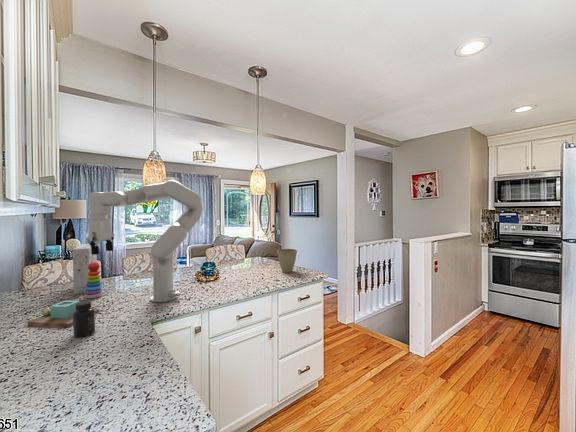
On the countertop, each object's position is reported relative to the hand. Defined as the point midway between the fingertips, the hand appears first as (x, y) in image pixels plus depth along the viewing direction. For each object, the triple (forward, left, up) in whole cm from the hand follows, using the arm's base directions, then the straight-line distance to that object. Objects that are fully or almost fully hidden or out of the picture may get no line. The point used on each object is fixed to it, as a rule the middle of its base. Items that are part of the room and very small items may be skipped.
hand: (102, 252), depth 136 cm
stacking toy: (+15, -11, -26) cm, 32 cm away
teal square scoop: (+8, +17, -25) cm, 31 cm away
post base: (+5, +17, -26) cm, 31 cm away
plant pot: (-84, -77, -26) cm, 117 cm away
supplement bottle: (-15, +30, -26) cm, 42 cm away
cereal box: (+32, -26, -26) cm, 49 cm away
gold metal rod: (+11, +18, -25) cm, 33 cm away
